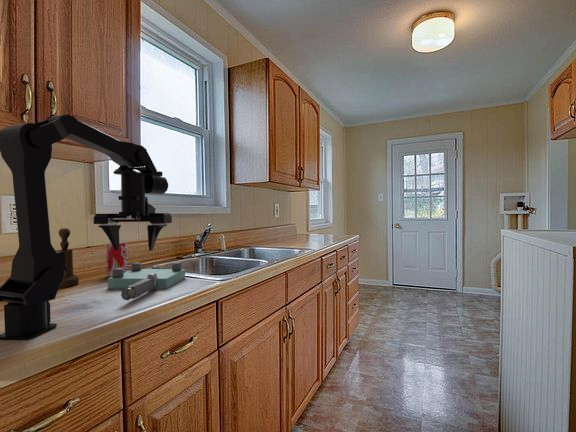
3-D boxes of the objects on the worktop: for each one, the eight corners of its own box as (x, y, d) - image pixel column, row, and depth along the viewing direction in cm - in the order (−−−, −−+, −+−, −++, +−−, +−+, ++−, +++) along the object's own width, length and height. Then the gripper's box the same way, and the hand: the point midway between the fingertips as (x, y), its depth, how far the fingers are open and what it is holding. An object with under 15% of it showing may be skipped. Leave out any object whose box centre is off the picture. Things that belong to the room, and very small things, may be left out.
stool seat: (166, 288, 90) (166, 270, 90) (107, 288, 91) (107, 270, 91) (185, 277, 104) (184, 261, 104) (134, 277, 105) (133, 262, 105)
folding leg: (149, 288, 89) (149, 273, 89) (159, 288, 89) (158, 273, 89) (121, 302, 76) (120, 285, 75) (132, 303, 75) (131, 285, 75)
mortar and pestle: (47, 287, 93) (45, 228, 93) (65, 282, 100) (63, 227, 99) (66, 288, 92) (64, 228, 92) (83, 283, 99) (82, 227, 98)
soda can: (119, 278, 105) (118, 243, 105) (101, 277, 107) (100, 243, 106) (133, 274, 112) (132, 241, 112) (116, 273, 114) (116, 241, 113)
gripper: (179, 194, 90) (179, 247, 90) (116, 194, 90) (117, 247, 91) (162, 191, 79) (163, 252, 79) (91, 192, 79) (92, 252, 80)
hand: (134, 250), depth 82 cm, fingers open, 9 cm apart
